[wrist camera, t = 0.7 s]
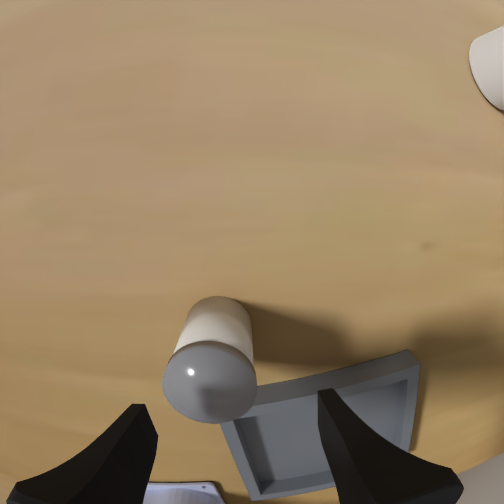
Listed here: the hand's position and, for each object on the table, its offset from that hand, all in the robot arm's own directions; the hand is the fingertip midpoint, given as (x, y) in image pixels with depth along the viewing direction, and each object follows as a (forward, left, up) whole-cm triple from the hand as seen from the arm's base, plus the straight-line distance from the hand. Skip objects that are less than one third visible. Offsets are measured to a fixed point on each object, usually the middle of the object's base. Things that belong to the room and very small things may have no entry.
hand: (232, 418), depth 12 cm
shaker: (-1, 0, -10) cm, 10 cm away
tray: (+5, -12, -10) cm, 16 cm away
